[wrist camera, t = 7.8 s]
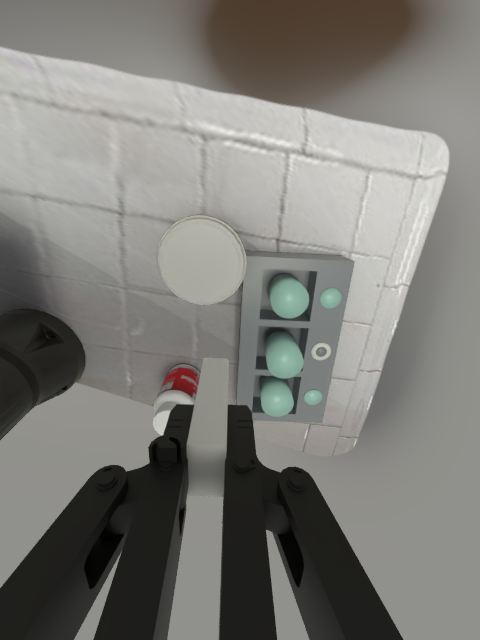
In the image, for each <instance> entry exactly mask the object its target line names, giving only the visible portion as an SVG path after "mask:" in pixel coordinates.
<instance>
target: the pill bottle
mask: <svg viewBox="0 0 480 640" xmlns="http://www.w3.org/2000/svg"><path fill="white" fill-rule="evenodd" d="M199 379H200V372H199V371H198V370H197V369H196V368H194V367H193V366H190V365H186V364H181V365H177V366H175V367H173V368H172V369H171V370H170V371H169V372H168V374H167V376H166V378H165V380H164V383H163V385H162V387H161V389H160V391H159V394H158V396H157V398H156V400H155V403H154V413H155V416H154V419H153V427H154V429H155V430H156V431H157V432H158V433H159V434H160V435H163V434H164V430H165V427H166V424H167V421H168V417H169V414H170V411H171V410H172V409H173V408H174V407H175V406H176V404H191V405H194V404H195V399H196V394H197V389H198V384H199Z"/></svg>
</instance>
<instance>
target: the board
mask: <svg viewBox="0 0 480 640" xmlns="http://www.w3.org/2000/svg"><path fill="white" fill-rule="evenodd" d="M245 253H246V261H247V265H246V272H245V276H244V278H243V282H242V301H241V319H240V338H239V357H238V376H237V395H236V405H247V406H248V407H249V409H250V410H251V412H252V419H253V420H262V421H288V422H314V423H322V421H323V416H324V411H325V406H326V401H327V396H328V391H329V386H330V381H331V376H332V371H333V366H334V361H335V356H336V351H337V346H338V341H339V336H340V331H341V326H342V321H343V316H344V311H345V307H346V302H347V297H348V292H349V287H350V282H351V277H352V272H353V267H354V262H355V261H353V260H350V259H348V258H346V257H343V256H341V255H322V254H302V253H282V252H261V251H245ZM280 274H291V275H293V276H295V277H296V278H297V279H298V280H299V282H300V283H301V284H302V285H303V286H304V287H305V289H306V290H307V292H308V294H309V304H308V307H307V309H306V310H305V311H304V312H303V313H302V314H301V315H300V316H298V317H295V318H283V317H280V316H279V315H277V314H276V313H275V312H274V310H273V308H272V305H271V302H270V299H269V296H268V285H269V283H270V281H271V280H272V279H273V278H274V277H276V276H277V275H280ZM276 331H286V332H288V333H290V334H292V335H293V336H294V338H295V340H296V342H297V345H298V347H299V349H300V351H301V354H302V356H303V359H304V364H303V367H302V369H301V371H300V372H299V373H298V374H297V375H295V376H293V377H291V378H287V379H288V383H289V386H290V390H291V393H292V397H293V400H294V406H293V408H292V410H291V411H290V412H289V413H288V414H286V415H284V416H281V417H273V416H270V415H268V414H266V413H265V412H264V411H263V409H262V406H261V397H260V388H259V382H260V379H261V378H262V377H263V376H274V375H272V374H271V373H270V371H269V370H268V367H267V362H266V356H265V350H264V343H265V340H266V338H267V337H268V336H269V335H270V334H272V333H274V332H276Z"/></svg>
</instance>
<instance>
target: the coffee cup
mask: <svg viewBox="0 0 480 640" xmlns="http://www.w3.org/2000/svg"><path fill="white" fill-rule="evenodd" d="M157 262H158V268H159V272H160V275H161V277H162V279H163V281H164V283H165V284H166V286H167V287H168V288H169V289H170V290H171V292H173V293H174V294H175V295H176V296H177V297H179V298H181V299H182V300H184V301H186V302H189V303H192V304H197V305H211V304H216V303H219V302H221V301H223V300H225V299H227V298H228V297H230V296H231V295H232V294H233V293H234V292H235V291H236V290H237V289H238V288H239V286H240V284H241V283H242V281H243V278H244V276H245V272H246V265H247V261H246V253H245V249H244V246H243V243H242V241H241V239H240V238H239V236H238V235H237V233H236V232H235V231H234V230H233V229H232V228H231V227H230V226H229V225H227V224H226V223H225V222H223V221H221V220H219V219H217V218H214V217H210V216H205V215H195V216H189V217H186V218H183V219H181V220H179V221H177V222H176V223H174V224H173V225H172V226H171V227H170V228H169V229H168V230H167V231H166V232H165V234H164V235H163V237H162V239H161V241H160V244H159V247H158V254H157Z"/></svg>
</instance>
